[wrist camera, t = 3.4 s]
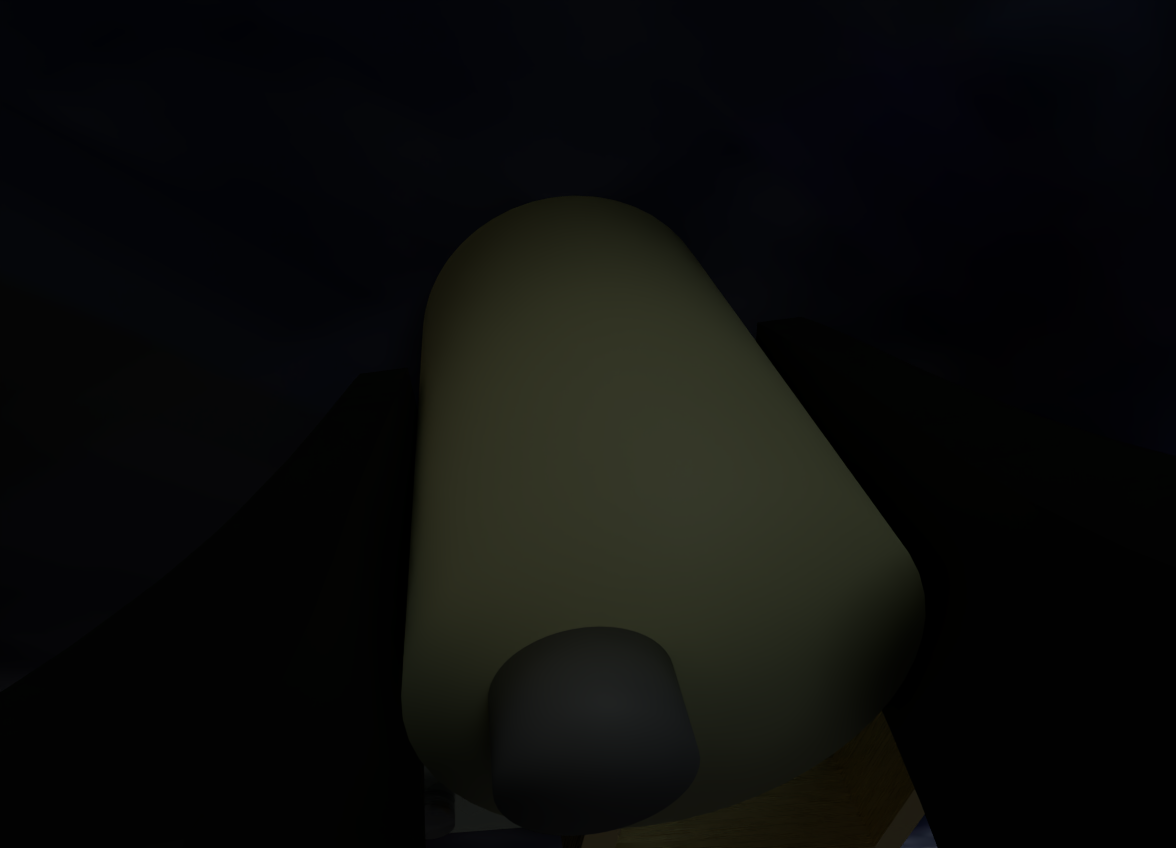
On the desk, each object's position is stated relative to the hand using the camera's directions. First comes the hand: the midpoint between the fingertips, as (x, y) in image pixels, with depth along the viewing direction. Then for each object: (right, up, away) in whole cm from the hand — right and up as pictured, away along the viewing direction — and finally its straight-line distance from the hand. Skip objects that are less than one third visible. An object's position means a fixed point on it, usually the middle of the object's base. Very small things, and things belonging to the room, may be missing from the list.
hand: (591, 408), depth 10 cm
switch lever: (0, +1, +2) cm, 2 cm away
